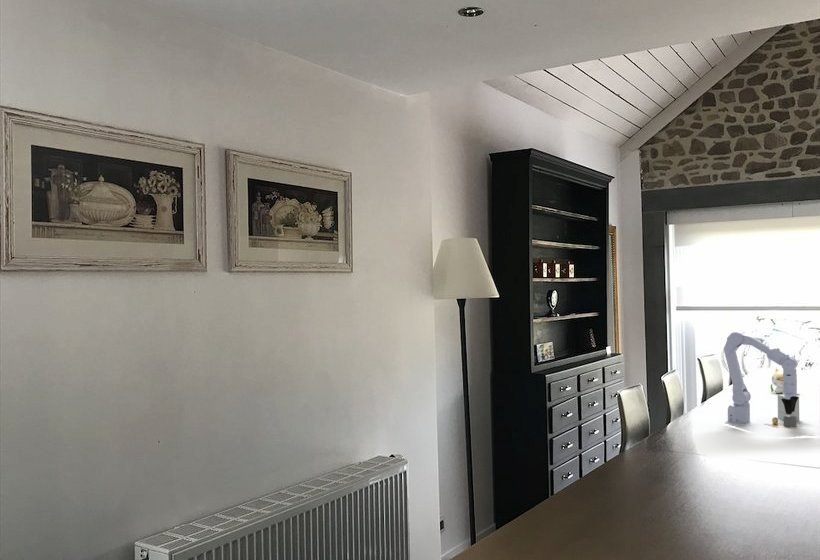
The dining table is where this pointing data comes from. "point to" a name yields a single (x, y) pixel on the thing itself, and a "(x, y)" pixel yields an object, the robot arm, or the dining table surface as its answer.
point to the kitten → (777, 381)
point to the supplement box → (782, 409)
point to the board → (779, 425)
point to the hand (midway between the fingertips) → (790, 412)
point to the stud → (775, 421)
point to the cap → (790, 421)
